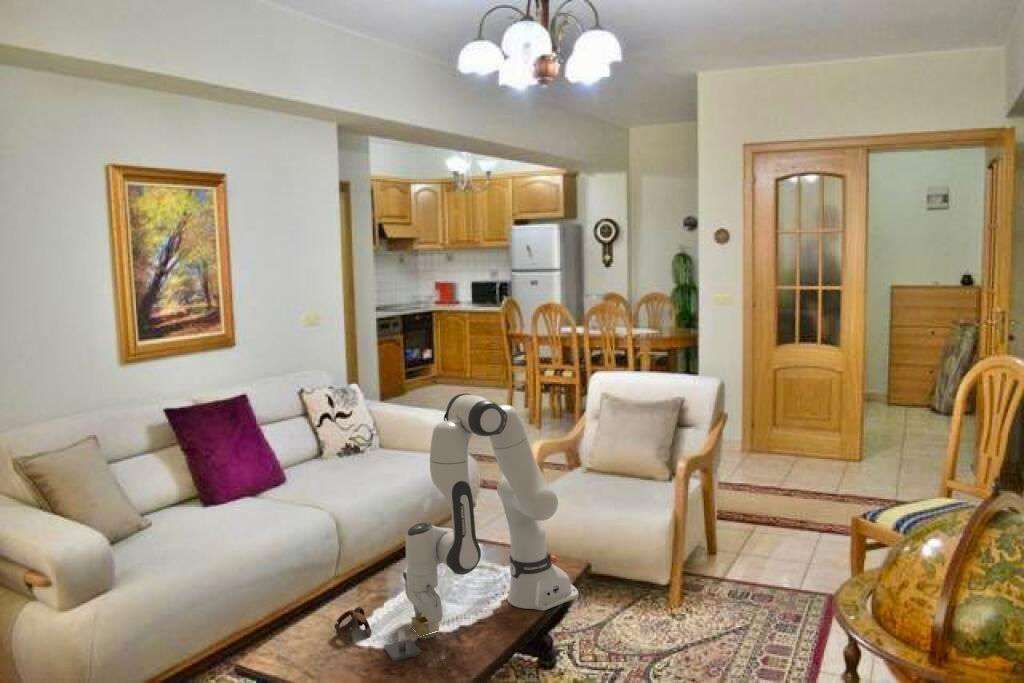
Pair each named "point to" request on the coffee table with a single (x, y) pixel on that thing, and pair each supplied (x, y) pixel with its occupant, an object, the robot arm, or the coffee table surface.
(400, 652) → the post
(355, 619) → the pottery mug
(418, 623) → the wooden square frame
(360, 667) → the coffee table surface
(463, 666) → the coffee table surface
